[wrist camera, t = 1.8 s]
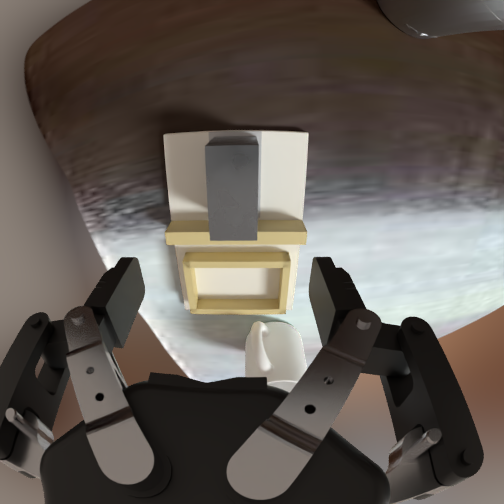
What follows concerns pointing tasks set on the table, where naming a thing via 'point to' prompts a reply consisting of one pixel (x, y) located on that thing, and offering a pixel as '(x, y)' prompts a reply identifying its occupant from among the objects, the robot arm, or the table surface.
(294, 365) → the mug
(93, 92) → the table surface
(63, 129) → the table surface
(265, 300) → the white fixture board
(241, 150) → the block
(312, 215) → the table surface
